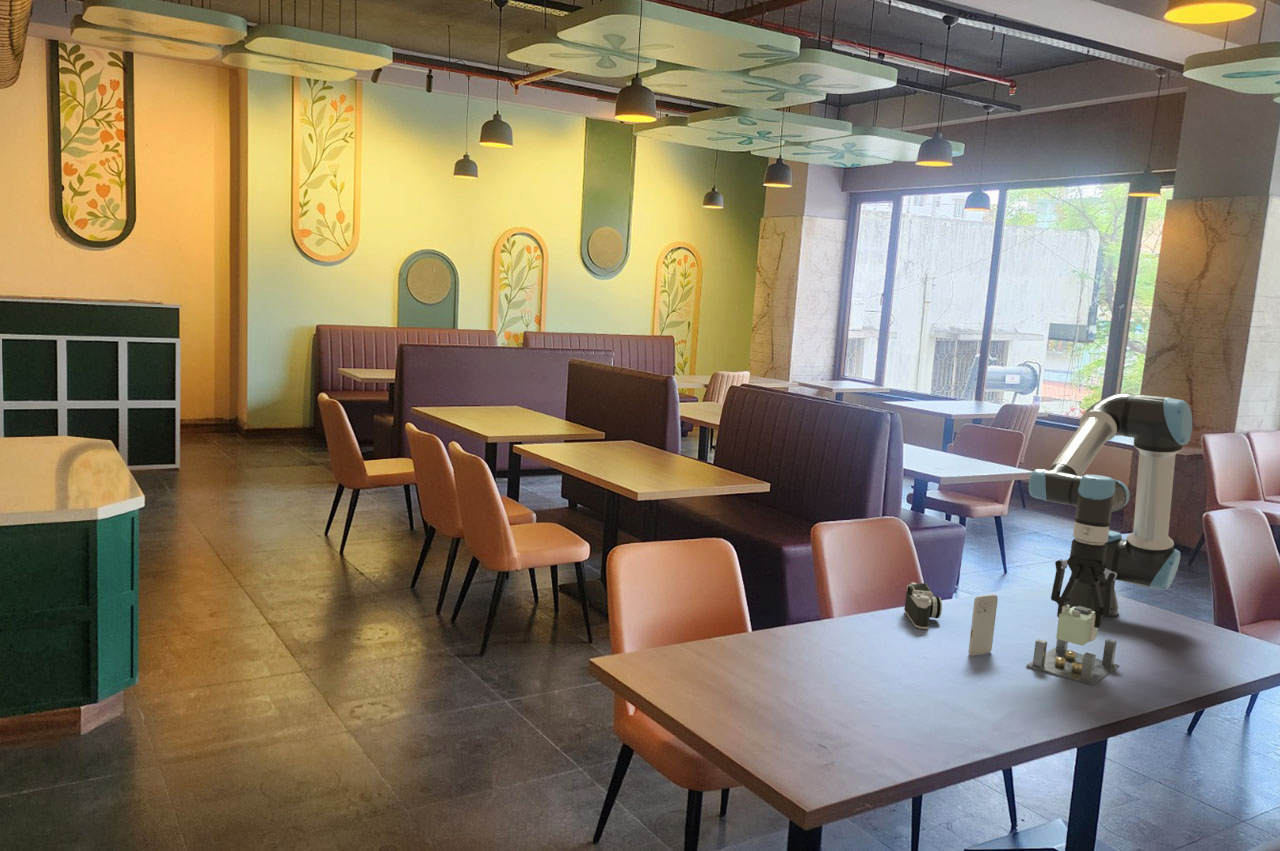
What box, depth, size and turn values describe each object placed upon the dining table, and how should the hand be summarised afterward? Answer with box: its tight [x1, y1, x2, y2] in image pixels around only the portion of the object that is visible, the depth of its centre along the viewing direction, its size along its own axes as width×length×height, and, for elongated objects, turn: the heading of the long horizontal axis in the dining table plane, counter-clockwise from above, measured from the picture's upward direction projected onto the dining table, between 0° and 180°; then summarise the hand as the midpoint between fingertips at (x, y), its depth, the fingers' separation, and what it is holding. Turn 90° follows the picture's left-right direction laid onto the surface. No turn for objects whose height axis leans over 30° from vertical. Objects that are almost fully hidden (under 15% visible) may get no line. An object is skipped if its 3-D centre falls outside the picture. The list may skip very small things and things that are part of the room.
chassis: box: [1026, 638, 1120, 687], centre depth 234 cm, size 19×15×7 cm
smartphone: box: [968, 593, 999, 657], centre depth 239 cm, size 7×1×15 cm, turn 118°
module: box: [1055, 606, 1099, 647], centre depth 233 cm, size 10×6×7 cm, turn 137°
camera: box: [903, 582, 943, 630], centre depth 264 cm, size 16×9×10 cm, turn 177°
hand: (1076, 635), depth 233 cm, fingers closed on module, 6 cm apart
